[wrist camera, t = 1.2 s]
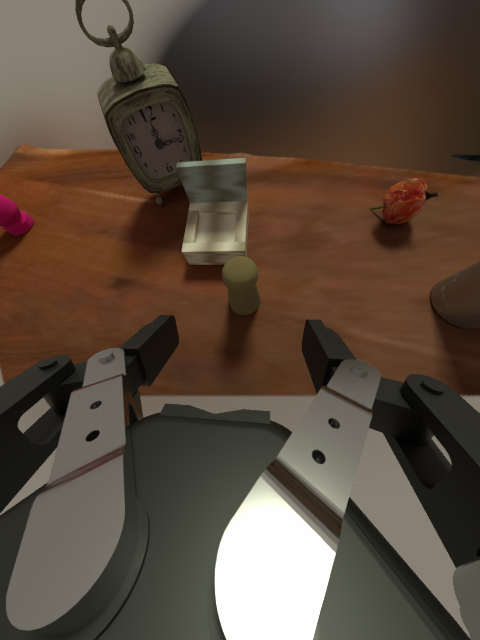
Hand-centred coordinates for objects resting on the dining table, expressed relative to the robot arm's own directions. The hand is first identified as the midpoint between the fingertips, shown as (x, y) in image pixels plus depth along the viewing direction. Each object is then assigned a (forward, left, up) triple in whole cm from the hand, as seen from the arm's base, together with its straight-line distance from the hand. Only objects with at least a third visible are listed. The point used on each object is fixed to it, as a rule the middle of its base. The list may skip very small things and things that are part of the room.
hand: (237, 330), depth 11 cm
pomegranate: (-28, -30, -21) cm, 46 cm away
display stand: (+7, -25, -21) cm, 34 cm away
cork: (+1, -11, -21) cm, 24 cm away
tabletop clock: (+19, -41, -21) cm, 50 cm away
